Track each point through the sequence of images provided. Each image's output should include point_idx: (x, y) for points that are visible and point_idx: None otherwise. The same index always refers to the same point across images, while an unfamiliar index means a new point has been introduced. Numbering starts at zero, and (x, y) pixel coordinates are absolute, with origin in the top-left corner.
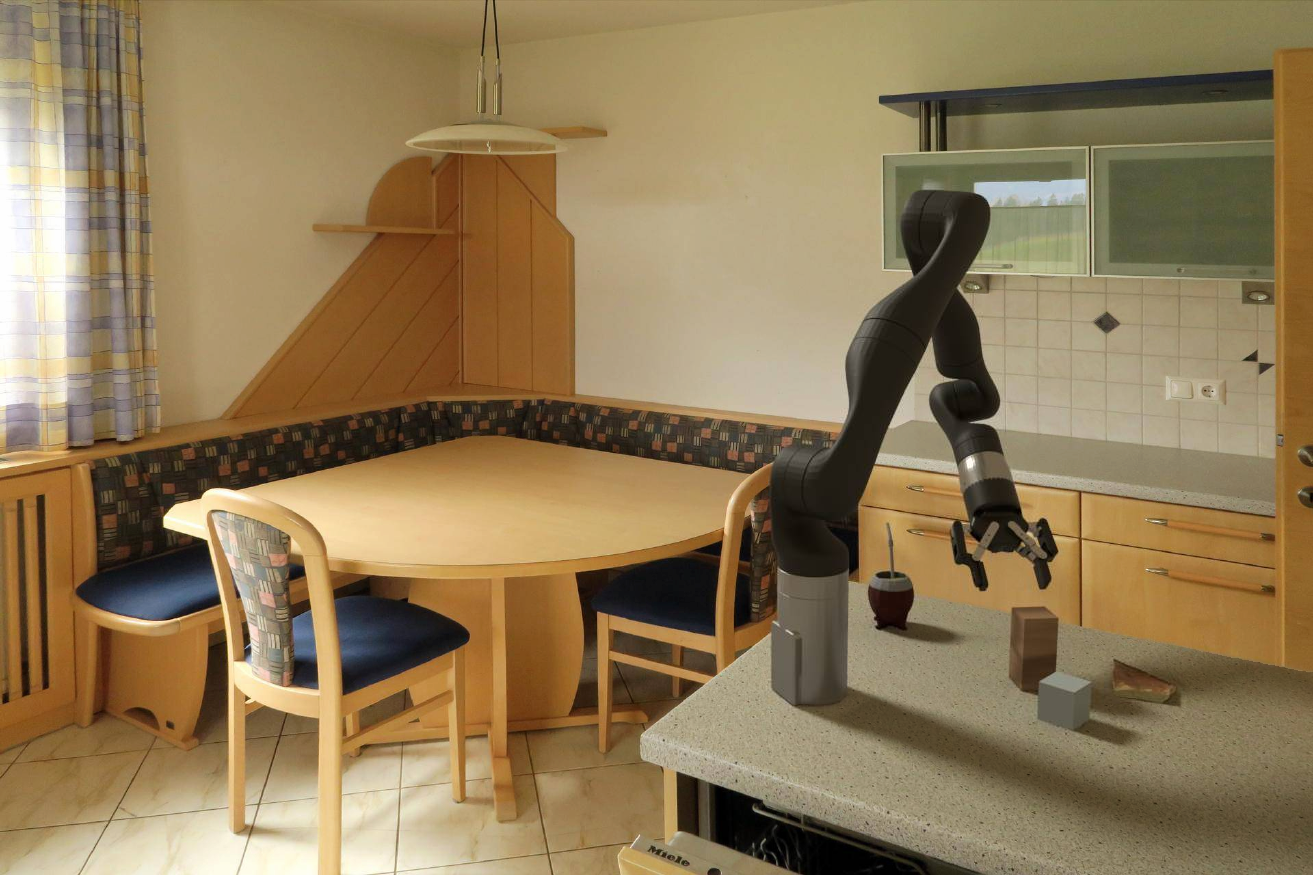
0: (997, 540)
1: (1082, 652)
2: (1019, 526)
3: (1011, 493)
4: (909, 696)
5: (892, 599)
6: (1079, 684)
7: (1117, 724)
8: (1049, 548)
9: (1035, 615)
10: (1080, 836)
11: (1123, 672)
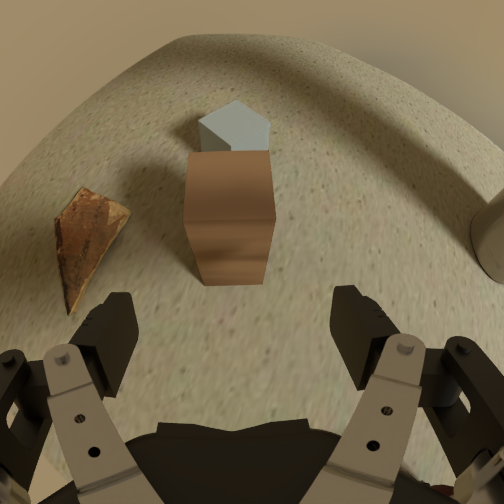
0: (293, 449)
1: None
2: (79, 498)
3: None
4: (412, 226)
5: (444, 489)
6: (218, 114)
7: (177, 146)
8: (15, 371)
9: (234, 166)
10: (291, 47)
11: (85, 258)
